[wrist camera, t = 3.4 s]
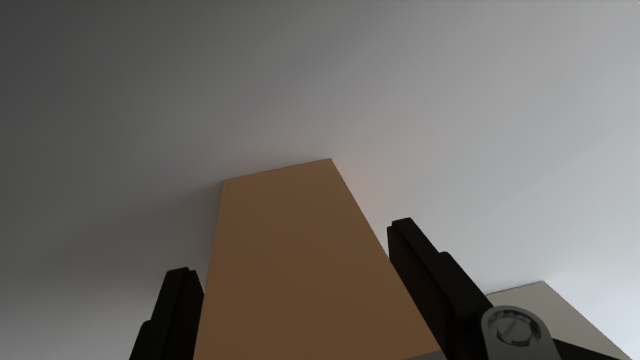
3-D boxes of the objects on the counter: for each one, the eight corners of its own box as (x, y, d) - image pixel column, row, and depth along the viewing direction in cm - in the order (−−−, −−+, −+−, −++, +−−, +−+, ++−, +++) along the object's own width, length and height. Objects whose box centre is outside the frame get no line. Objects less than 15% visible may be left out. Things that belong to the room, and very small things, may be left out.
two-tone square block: (223, 180, 14) (169, 493, 5) (330, 158, 14) (476, 409, 5) (254, 287, 16) (257, 652, 7) (346, 266, 16) (470, 584, 7)
